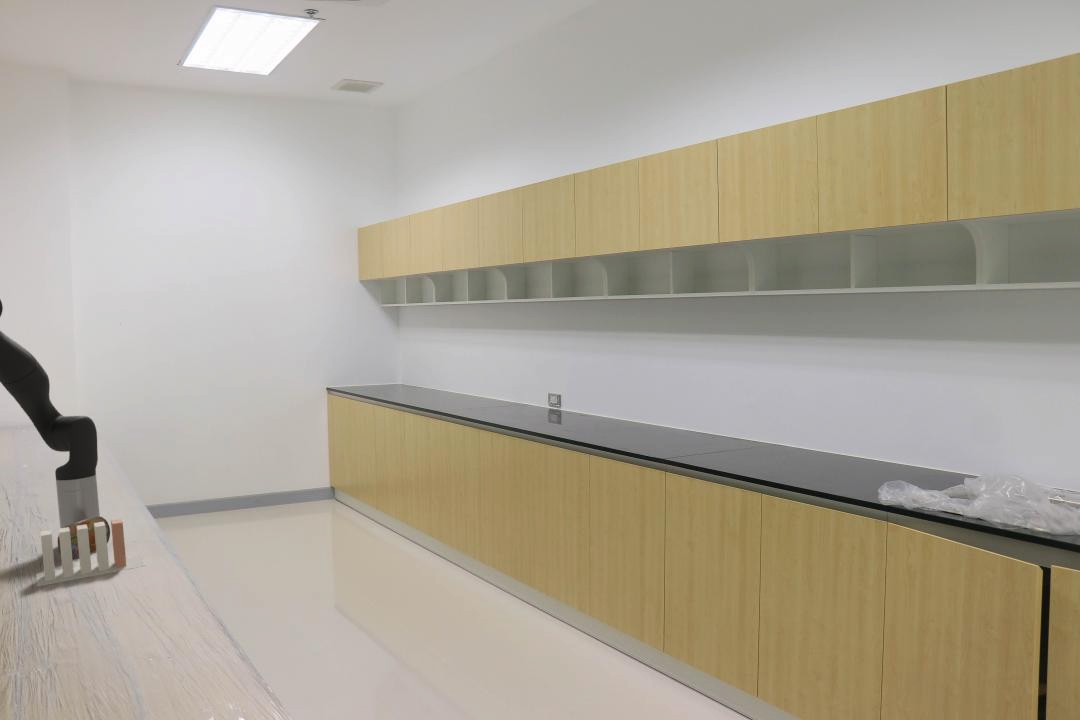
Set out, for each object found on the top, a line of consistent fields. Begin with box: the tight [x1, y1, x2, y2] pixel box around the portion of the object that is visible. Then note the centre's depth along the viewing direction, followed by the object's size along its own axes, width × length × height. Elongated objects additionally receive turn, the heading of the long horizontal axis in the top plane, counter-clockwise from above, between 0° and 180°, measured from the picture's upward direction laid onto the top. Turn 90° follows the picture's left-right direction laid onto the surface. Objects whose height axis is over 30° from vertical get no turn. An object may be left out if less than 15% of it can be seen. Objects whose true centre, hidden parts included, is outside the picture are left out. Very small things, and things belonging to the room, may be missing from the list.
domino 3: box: [76, 524, 92, 574], centre depth 186 cm, size 5×2×10 cm, turn 32°
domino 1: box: [40, 529, 56, 581], centre depth 183 cm, size 5×2×10 cm, turn 32°
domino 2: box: [58, 527, 74, 577], centre depth 185 cm, size 5×2×10 cm, turn 32°
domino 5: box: [110, 518, 127, 567], centre depth 190 cm, size 5×2×10 cm, turn 32°
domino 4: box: [94, 522, 109, 571], centre depth 188 cm, size 5×2×10 cm, turn 32°
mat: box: [36, 554, 146, 587], centre depth 187 cm, size 12×21×1 cm, turn 122°
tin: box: [57, 516, 111, 559], centre depth 204 cm, size 15×3×8 cm, turn 168°
